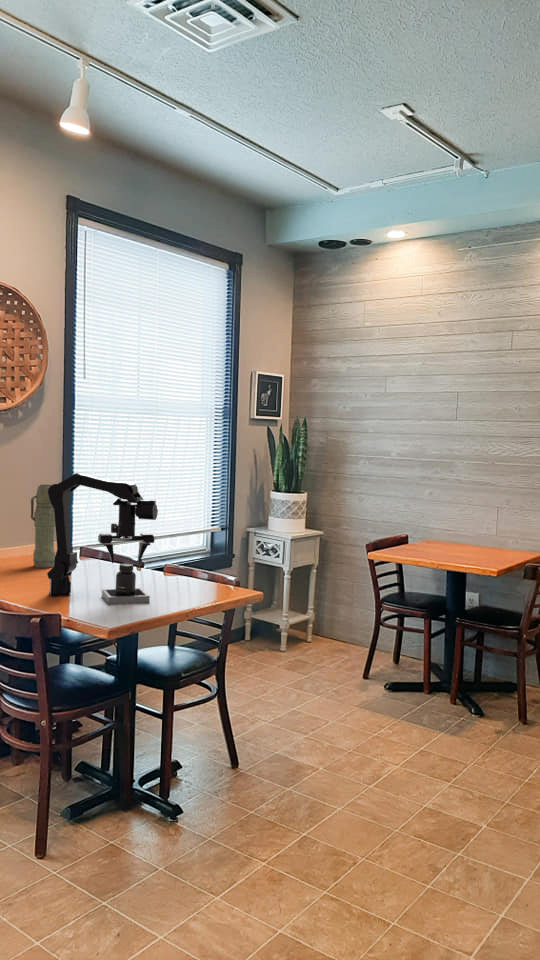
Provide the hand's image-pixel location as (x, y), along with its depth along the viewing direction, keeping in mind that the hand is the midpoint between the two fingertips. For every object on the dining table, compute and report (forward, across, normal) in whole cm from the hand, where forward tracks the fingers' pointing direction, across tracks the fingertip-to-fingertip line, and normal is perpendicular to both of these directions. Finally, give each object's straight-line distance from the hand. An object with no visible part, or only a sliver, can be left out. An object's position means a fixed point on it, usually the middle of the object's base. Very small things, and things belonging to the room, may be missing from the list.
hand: (125, 562), depth 271 cm
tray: (+13, 0, +1) cm, 13 cm away
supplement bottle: (+13, 0, +1) cm, 13 cm away
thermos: (+13, +21, -72) cm, 76 cm away
